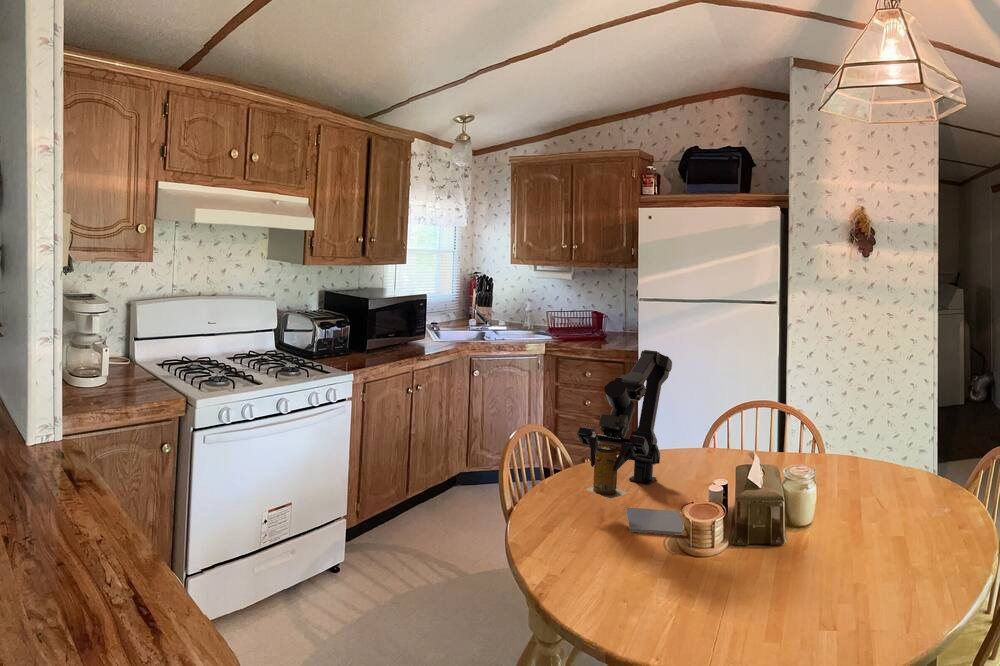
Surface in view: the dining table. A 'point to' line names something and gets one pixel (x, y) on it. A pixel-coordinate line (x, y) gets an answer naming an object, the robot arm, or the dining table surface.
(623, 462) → the robot arm
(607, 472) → the condiment
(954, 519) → the dining table surface
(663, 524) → the slate tile
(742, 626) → the dining table surface
